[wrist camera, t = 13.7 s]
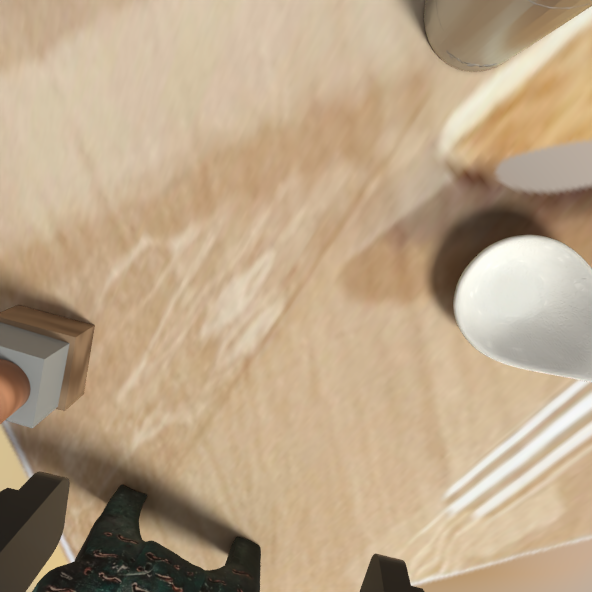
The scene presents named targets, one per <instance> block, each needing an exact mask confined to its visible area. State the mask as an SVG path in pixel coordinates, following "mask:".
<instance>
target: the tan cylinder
mask: <svg viewBox="0 0 592 592" xmlns="http://www.w3.org/2000/svg"><path fill="white" fill-rule="evenodd" d="M30 390H31V388H30V382H29V379H28V377H27V375H26V374H25V372H24V371H23V370H22V369H21V368H20V367H19V366H17V365H16V364H14V363H12V362H10V361H8V360H4V359H0V424H1V423H2V422H3V421H5V420H6V419H7V418H8V417H9V416H11V415H12V414H13V413H14V412H15V411H17V410H18V409H19V408H20V407H21V406H23V405H24V404H25V403H26V401H27V400H28V398H29V396H30Z"/></svg>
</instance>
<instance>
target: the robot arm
mask: <svg viewBox="0 0 592 592" xmlns="http://www.w3.org/2000/svg"><path fill="white" fill-rule="evenodd" d="M591 6H592V0H426V2H425V9H424V25H425V31H426V34H427V38H428V41H429V43H430V45H431V46H432V48H433V50H434V52H435V53H436V54H437V55H438V56H439V57H440V58H441V59H442V60H443V61H444V62H446V63H447V64H448V65H450V66H451V67H454V68H457V69H459V70H462V71H469V72H478V71H486V70H489V69H492V68H495V67H497V66H499V65H501V64H502V63H504V62H506V61H508V60H509V59H511V58H512V57H514V56H515V55H517V54H518V53H520V52H521V51H523V50H525V49H526V48H528V47H529V46H531V45H532V44H534V43H536V42H537V41H539V40H540V39H542V38H543V37H545V36H546V35H548V34H549V33H551V32H552V31H554V30H555V29H557V28H558V27H560V26H562V25H563V24H565V23H566V22H568V21H569V20H571V19H572V18H574V17H575V16H577V15H578V14H580V13H581V12H583V11H584V10H586V9H587V8H589V7H591ZM69 484H70V483H69V479H68V478H64V477H60V476H56V475H52V474H48V473H44V472H37V473H35V474H34V475H33V476H32V477H31V478H30V479H29V480H28V481H27V482H26V483H25V484H24V485H23V486H22V487H21V488H20V489H19V490H15V489H11V488H6V489H4V490H3V491H1V492H0V592H26V590H27V589H28V587H29V586H30V585H31V583H32V582H33V580H34V579H35V577H36V576H37V575H38V573H39V572H40V570H41V569H42V568H43V566H44V565H45V564H46V562H47V561H48V559H49V558H50V557H51V555H52V554H53V552H54V550H55V549H56V547H57V545H58V543H59V540H60V538H61V535H62V532H63V529H64V523H65V515H66V508H67V500H68V493H69ZM360 592H424V591H423V589H421V588H417V587H413V586H411V585H410V580H409V576H408V572H407V567H406V564H405V562H404V561H403V560H400V559H396V558H391V557H387V556H383V555H379V554H374V555H373V556H372V558H371V561H370V564H369V567H368V570H367V572H366V575H365V578H364V581H363V584H362V586H361V589H360Z"/></svg>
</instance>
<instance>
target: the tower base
mask: <svg viewBox="0 0 592 592" xmlns="http://www.w3.org/2000/svg"><path fill="white" fill-rule="evenodd" d="M0 322H1V323H4V324H8V325H11V326H14V327H18V328H21V329H24V330H28V331H31V332H34V333H37V334H41V335H44V336H47V337H51V338H54V339H57V340H61V341H64V342H67V343H70V344H69V349H68V355H67V360H66V365H65V371H64V376H63V381H62V387H61V392H60V397H59V403H58V407H57V408H56V409H59V410H63V411H65V410H66V409H68V408H69V407H70V406H71V405H72V404H73V403H74V402H75V401H76V400H78V399H79V398H80V397H81V396H82V395H83V394H84V389H85V383H86V377H87V370H88V364H89V358H90V352H91V345H92V339H93V333H94V327H95V325H92V324H88V323H84V322H80V321H77V320H73V319H69V318H65V317H62V316H58V315H54V314H50V313H47V312H43V311H39V310H36V309H32V308H28V307H24V306H21V305H17V306H15V307H12V308H10V309H7V310H5V311H2V312H0Z"/></svg>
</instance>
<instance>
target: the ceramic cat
mask: <svg viewBox="0 0 592 592" xmlns="http://www.w3.org/2000/svg"><path fill="white" fill-rule="evenodd" d="M146 497H147V495H146V494H143V493H140V492H136V491H134V490H132V489H130V488H128V487H126V486H124V485H121V486H120V487H119V488H118V490H117V491H116V493H115V494H114V495H113V497H112V498H111V499H110V501H109V502H108V504H107V506H106V507H105V509H104V511H103V513H102V514H101V516H100V517H99V518H98V519H97V520H96V522H95V523H94V525H93V527H92V529H91V531H90V533H89V535H88V537H87V539H86V541H85V542H84V544H83V546H82V548H81V550H80V552H79V553H78V555H77V557H76V559H75V562H72V563H70V564H67V565H63V566H60V567H57V568H55V569H53V570H51V571H49V572H48V573H47V574H46V575H45V576H44V577H43V578H42V579H41V580H40V581H39V582H38V583H37V585H36V587H35V588H34V590H33V591H32V592H260V557H261V550H260V547H259V546H258V545H257V544H255V543H253V542H252V541H250V540H247V539H245V538H241V537H236V539H235V541H234V543H233V545H232V547H231V549H230V552H229V555H228V558H227V561H226V564H225V566H223V567H221V568H219V569H216V570H210V571H208V570H203V569H202V568H200V567H198V566H195V565H193V564H191V563H189V562H188V561H186V560H184V559H182V558H181V557H180V556H178V555H177V554H175V553H174V552H172V551H170V550H169V549H167V548H165V547H163V546H162V545H160V544H158V543H157V542H154V541H148V542H145V541H143V540H142V538H141V535H140V529H139V516H140V512H141V508H142V505H143V503H144V501H145V499H146Z"/></svg>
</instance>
